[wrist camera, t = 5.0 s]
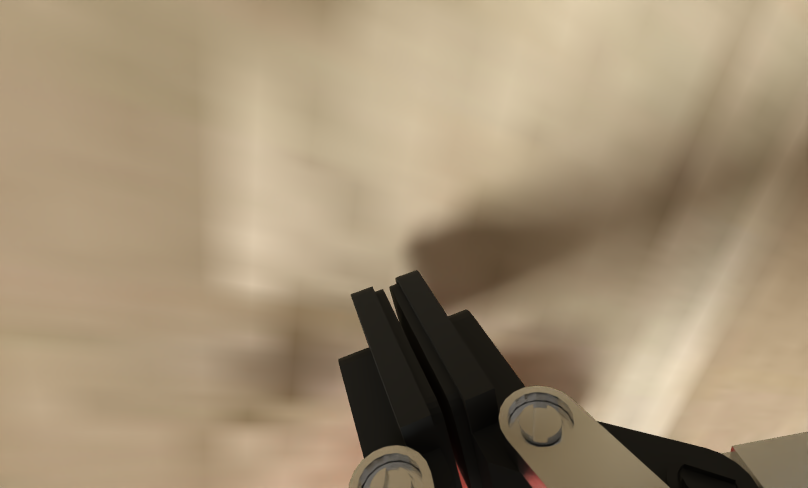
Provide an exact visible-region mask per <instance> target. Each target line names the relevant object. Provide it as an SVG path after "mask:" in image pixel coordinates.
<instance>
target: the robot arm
mask: <svg viewBox="0 0 808 488" xmlns="http://www.w3.org/2000/svg"><path fill="white" fill-rule="evenodd" d="M389 288H390V292H391V296H392V299H393V302H394V306H395V309H396V312H397V316H398V319H399V321H398V319H397V317H396V315H395V313H394V311H393V309H392V307H391V305H390V303H389V300H388V298H387V296H386V294H385V292H384V290H383V289H382V290H379V291H376V292H375V291H374V289H373V287H370V288H367V289H364V290H361V291H359V292H356V293H353V294H351V297H352V300H353V303H354V306H355V308H356V311H357V314H358V317H359V320H360V323H361V325H362V328H363V331H364V334H365V337H366V340H367V342H368V345H369V348H366V349H363V350H361V351H358V352H356V353H353V354H351V355H348V356H345V357H343V358H340V359H338V361H339V366H340V369H341V373H342V377H343V381H344V385H345V388H346V392H347V396H348V400H349V403H350V407H351V411H352V415H353V418H354V422H355V426H356V430H357V433H358V437H359V441H360V445H361V449H362V452H363V456H364V459H363V460H362V461H361V463H360V464H359V465H358V467H357V468H356V469H355V471H354V473H353V475H352V478H351V480H350V482H349V488H463V487H462V484H461V480H460V476H459V472H458V469H457V466H458V468H459V470H460V472H461V475H462V477H463V479H464V481H465V483H466V485H467V488H808V432H803V433H798V434H793V435H788V436H782V437H777V438H772V439H766V440H761V441H756V442H750V443H745V444H740V445H734V446H732V448H731V452H727V453H722V454H721V453H718V452H715V451H713V450H710V449H707V448H703V447H699V446H695V445H691V444H687V443H683V442H679V441H675V440H671V439H667V438H663V437H659V436H655V435H651V434H647V433H643V432H639V431H635V430H631V429H627V428H623V427H619V426H615V425H611V424H607V423H603V422H599V421H596V420H595V419H594V418H593V417H592V416H591V415H589V414H588V413H587V412H586V411H585V410H584V409H583V408H582V407H581V406H580V405H578V404H577V403H576V402H575V401H574V400H573V399H572V398H570V397H569V396H568V395H566V394H565V393H563V392H562V391H559V390H557V389H554V388H551V387H546V386H530V387H525V386H524V384H523V383H522V382H521V380H520V379H519V378H518V376H517V375H516V374H515V372H514V371H513V370H512V368H511V367H510V365H509V364H508V363H507V361H506V360H505V359H504V357H503V356H502V355H501V353H500V352H499V350H498V349H497V348H496V346H495V345H494V344H493V342H492V341H491V340H490V338H489V337H488V335H487V334H486V333H485V331H484V330H483V329H482V327H481V326H480V325H479V323H478V322H477V321H476V319H475V318H474V316H473V315H472V314H471V313H470V312H469V311H468V310H464V311H461V312H459V313H456V314H453V315H451V316H447V315H446V313H445V311H444V310H443V308H442V307H441V305H440V304H439V302H438V301H437V299H436V298H435V296H434V295H433V293H432V292H431V290H430V288H429V287H428V285H427V284H426V282H425V281H424V279H423V278H422V276H421V275H420V273H419V272H418V271H417V270H416V271H413V272H410V273H408V274H405V275H402V276H399V277H397V278H396V284H395V285H393V286H390V287H389ZM456 464H457V465H456Z"/></svg>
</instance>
